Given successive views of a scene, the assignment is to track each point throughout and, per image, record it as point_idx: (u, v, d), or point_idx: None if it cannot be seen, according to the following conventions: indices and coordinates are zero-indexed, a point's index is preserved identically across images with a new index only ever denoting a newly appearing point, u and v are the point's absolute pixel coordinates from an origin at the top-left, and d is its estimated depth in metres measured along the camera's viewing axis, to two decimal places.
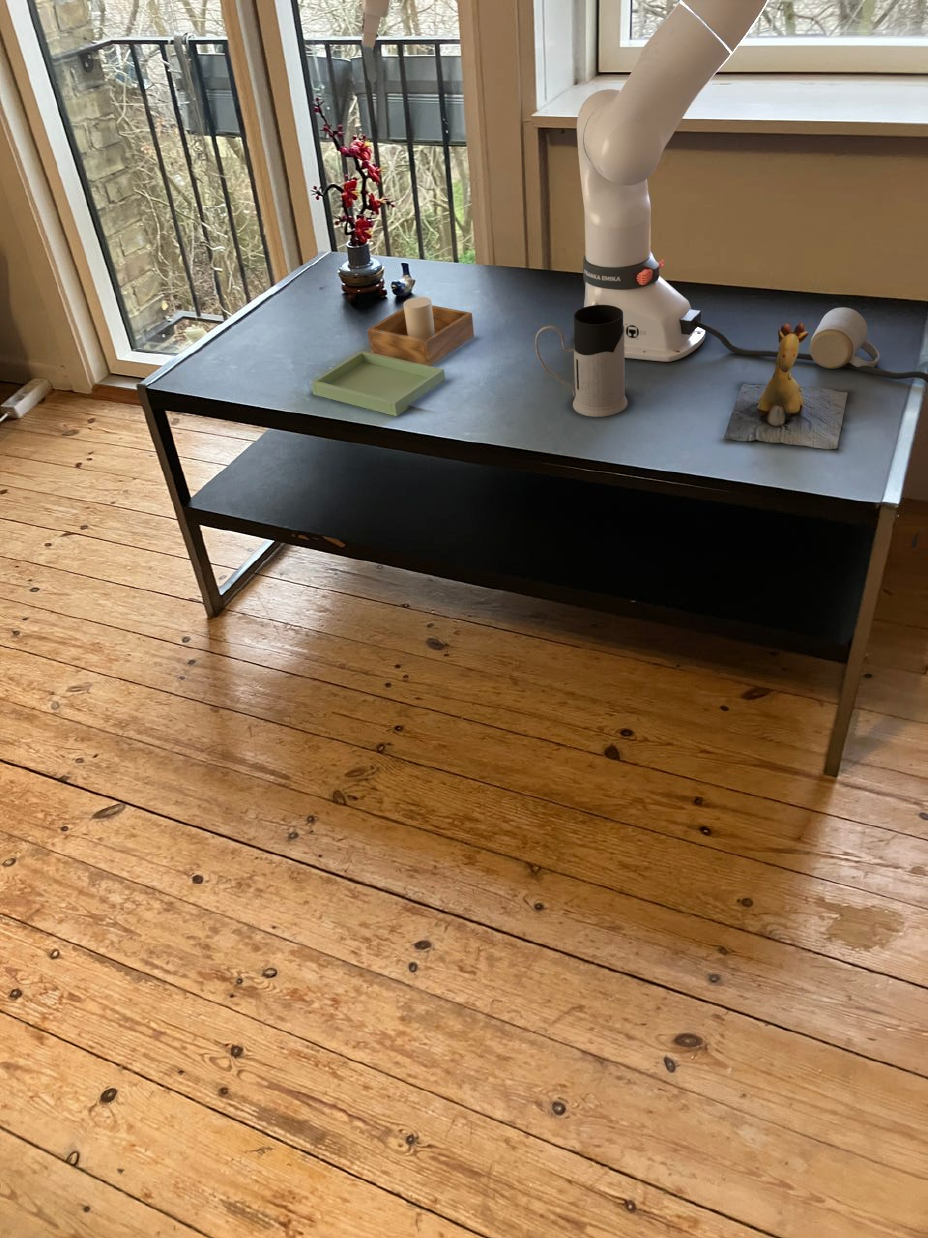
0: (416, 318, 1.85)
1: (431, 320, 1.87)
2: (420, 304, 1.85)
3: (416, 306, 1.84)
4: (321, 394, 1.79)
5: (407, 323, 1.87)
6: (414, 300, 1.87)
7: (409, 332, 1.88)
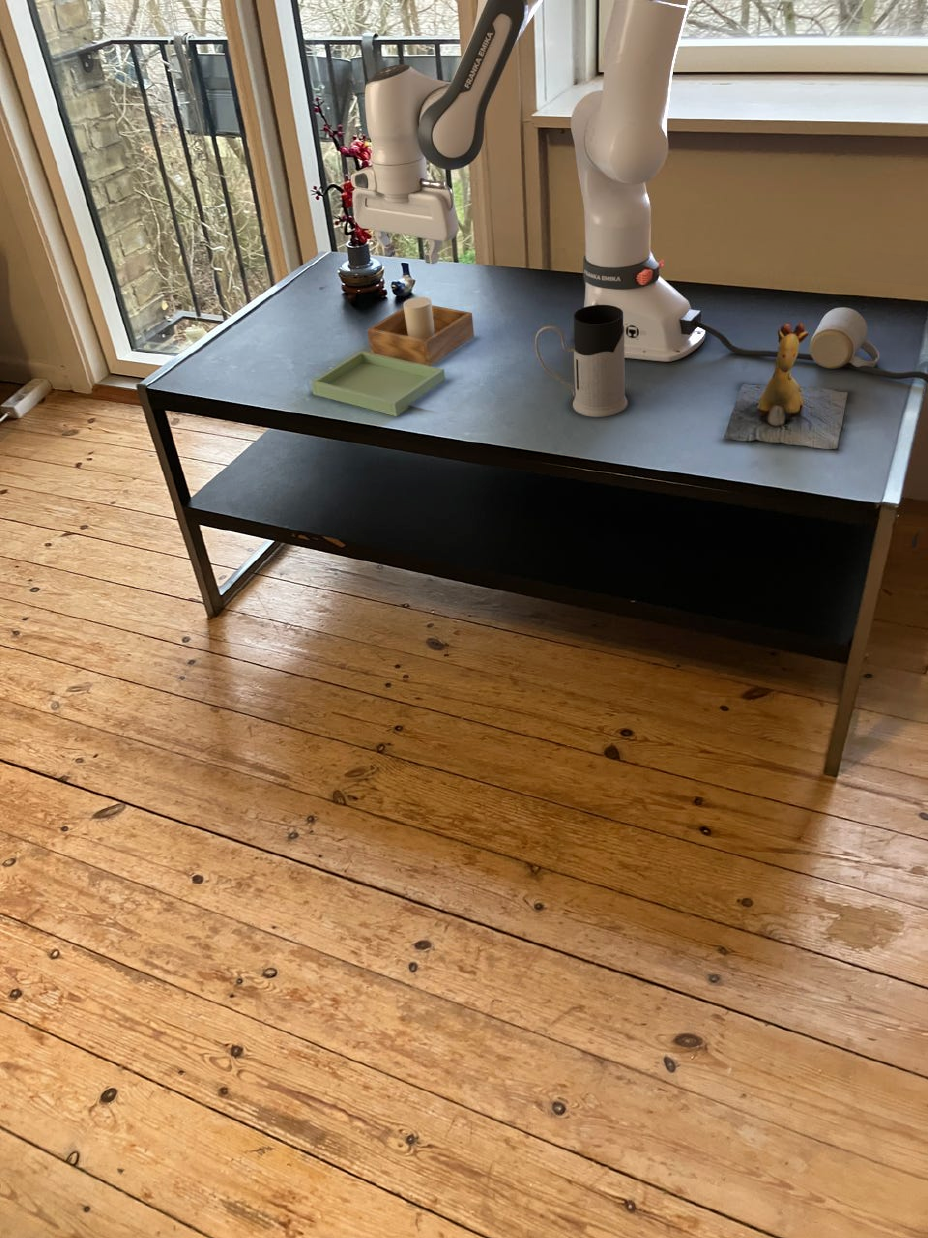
0: (416, 318, 1.85)
1: (431, 320, 1.87)
2: (420, 304, 1.85)
3: (416, 306, 1.84)
4: (321, 394, 1.79)
5: (407, 323, 1.87)
6: (414, 300, 1.87)
7: (409, 332, 1.88)
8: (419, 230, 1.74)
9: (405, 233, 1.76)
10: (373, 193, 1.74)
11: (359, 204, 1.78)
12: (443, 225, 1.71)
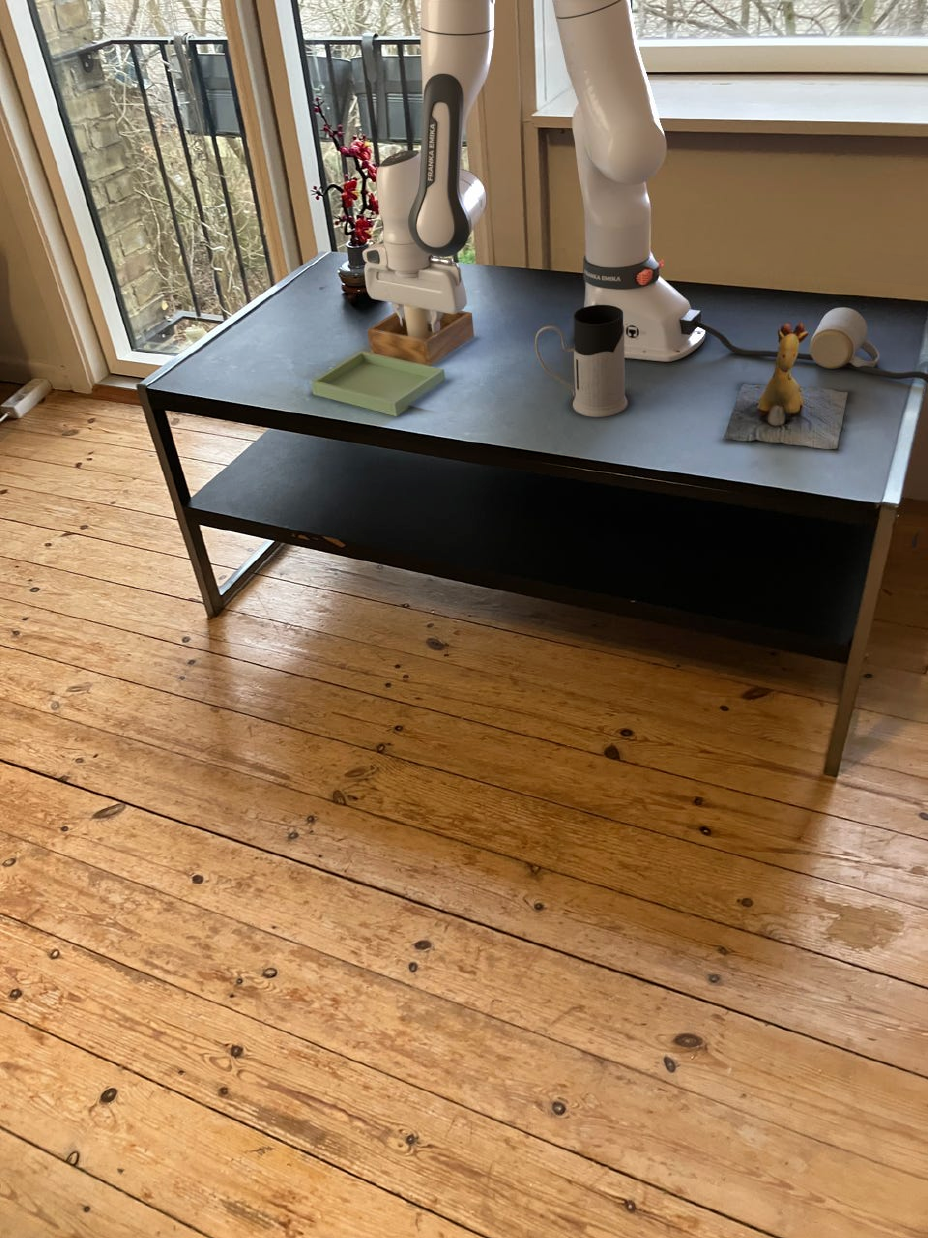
0: (416, 318, 1.85)
1: None
2: None
3: None
4: (321, 394, 1.79)
5: (407, 323, 1.87)
6: None
7: (409, 332, 1.88)
8: (429, 303, 1.82)
9: (415, 305, 1.84)
10: (384, 268, 1.82)
11: (371, 277, 1.86)
12: (452, 300, 1.79)
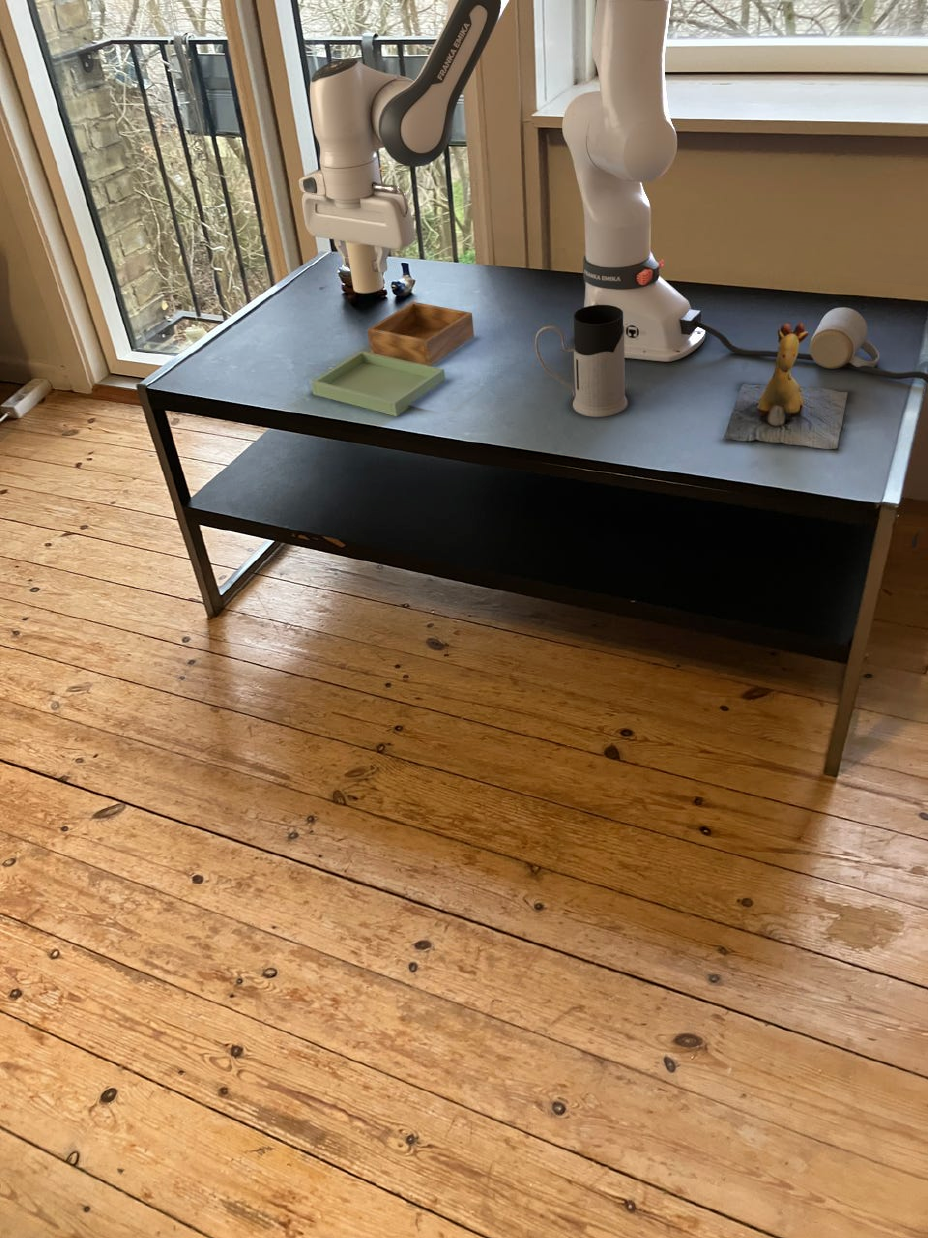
0: (360, 256, 1.65)
1: None
2: None
3: None
4: (321, 394, 1.79)
5: (350, 262, 1.67)
6: None
7: (352, 272, 1.67)
8: (373, 238, 1.62)
9: (358, 241, 1.64)
10: (323, 199, 1.62)
11: (309, 210, 1.66)
12: (398, 233, 1.58)
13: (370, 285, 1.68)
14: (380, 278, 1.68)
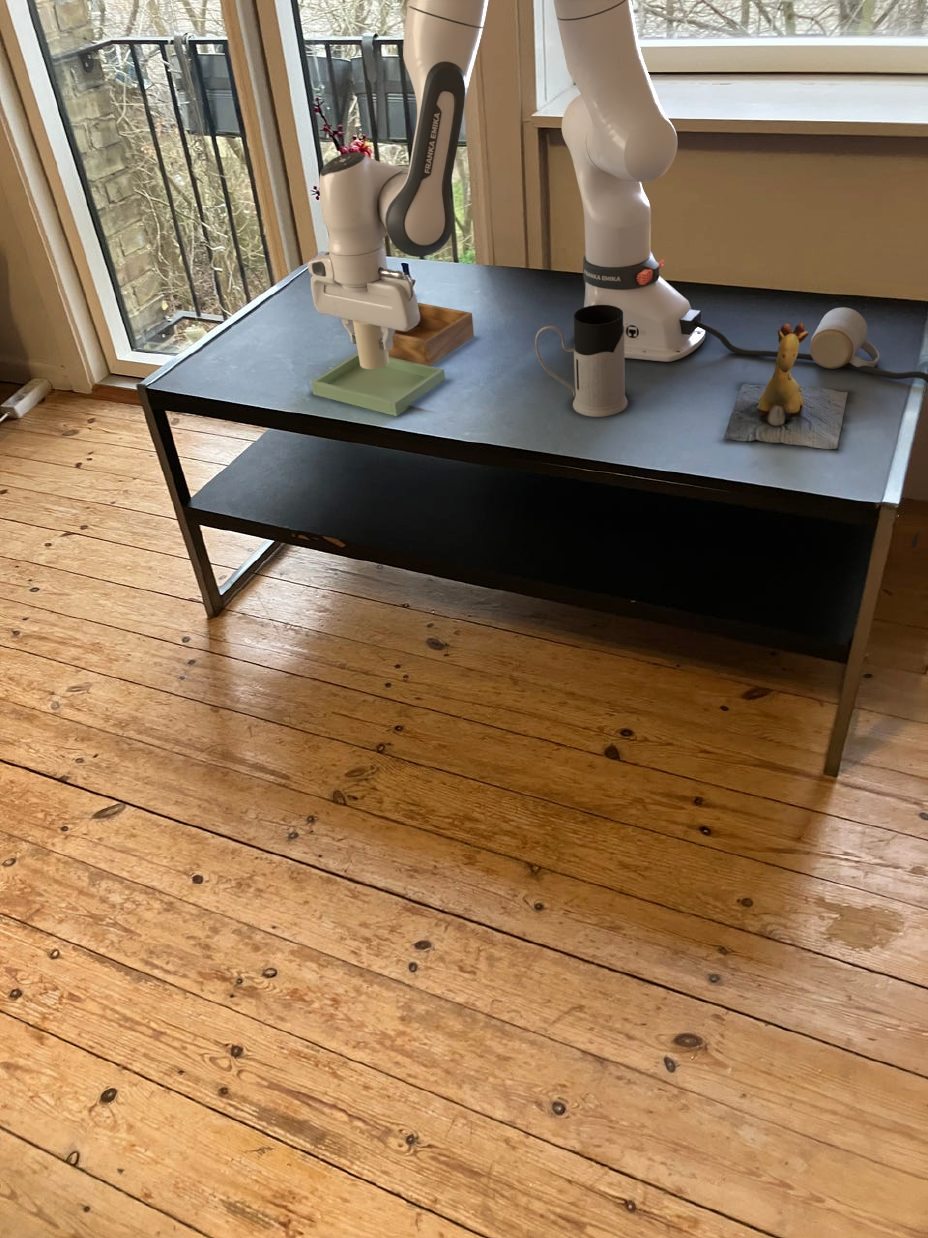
0: (366, 335, 1.71)
1: None
2: None
3: (365, 323, 1.70)
4: (321, 394, 1.79)
5: (357, 340, 1.73)
6: None
7: (359, 350, 1.74)
8: (379, 319, 1.68)
9: (365, 321, 1.70)
10: (331, 281, 1.68)
11: (318, 290, 1.72)
12: (403, 316, 1.65)
13: (377, 362, 1.74)
14: (386, 355, 1.75)
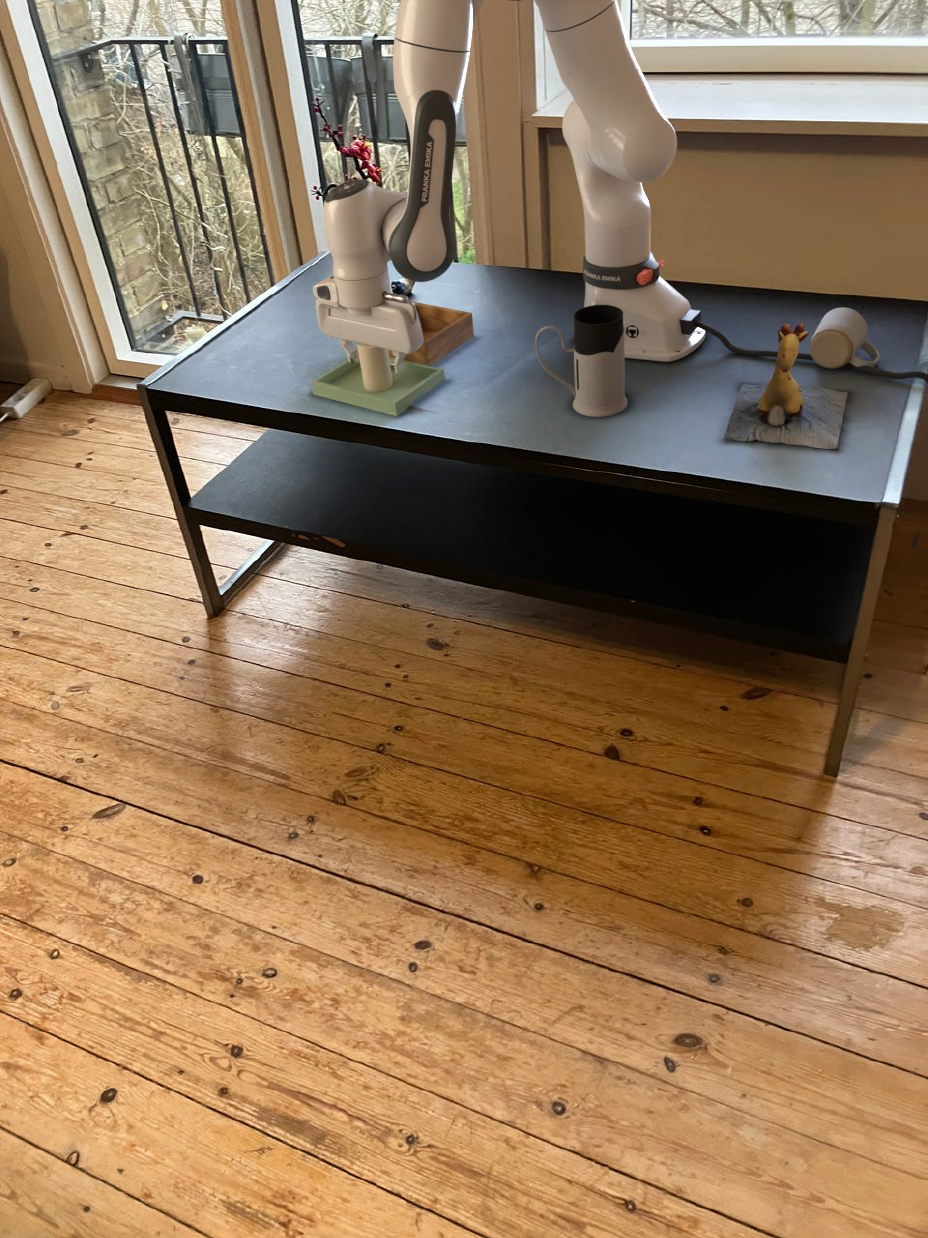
0: (370, 359, 1.74)
1: (387, 360, 1.75)
2: None
3: (370, 346, 1.73)
4: (321, 394, 1.79)
5: (361, 364, 1.76)
6: None
7: (363, 373, 1.76)
8: (383, 342, 1.71)
9: (369, 344, 1.73)
10: (336, 305, 1.71)
11: (323, 313, 1.75)
12: (407, 339, 1.67)
13: (381, 385, 1.77)
14: (390, 377, 1.78)
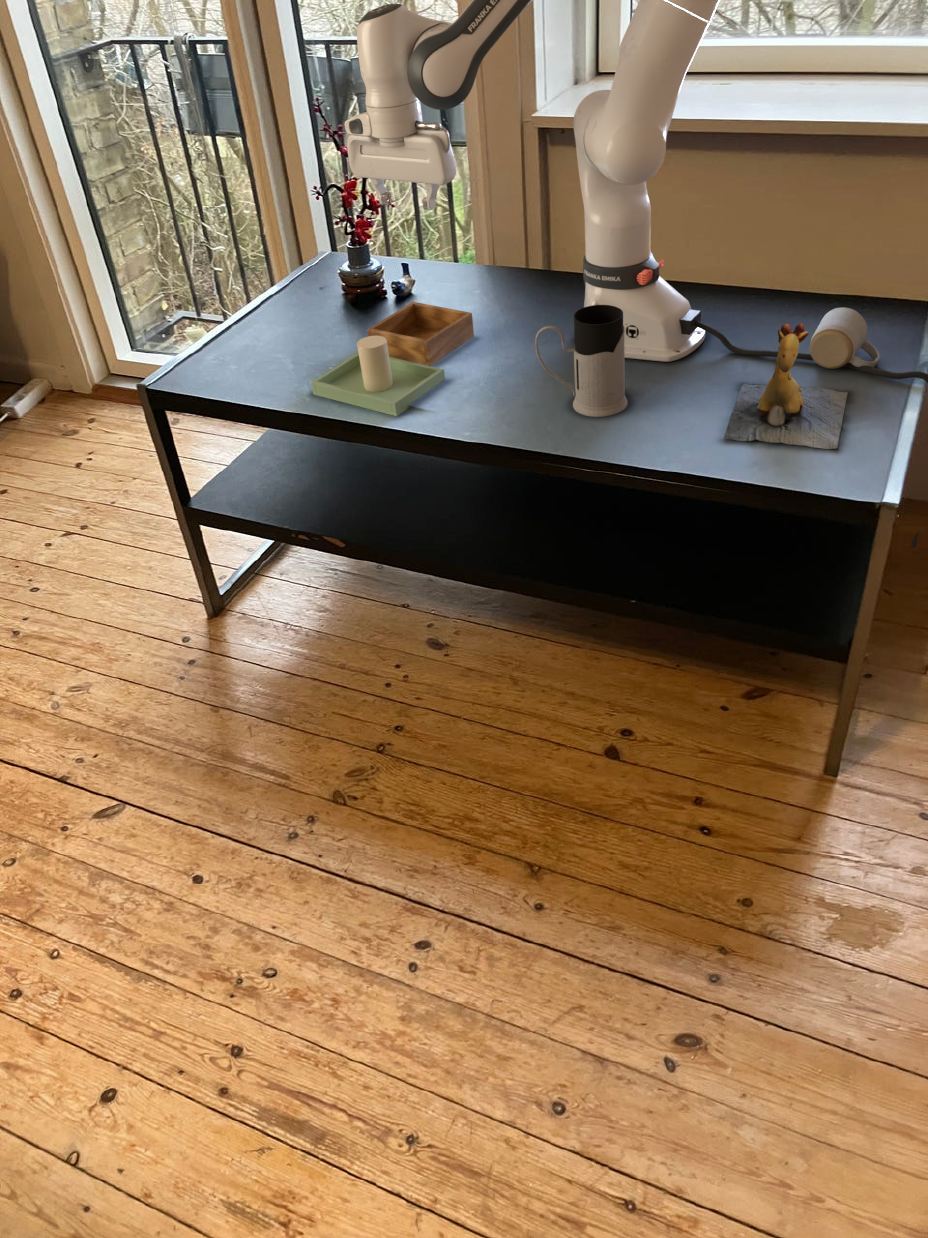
0: (370, 359, 1.74)
1: (387, 360, 1.75)
2: (374, 343, 1.74)
3: (370, 346, 1.73)
4: (321, 394, 1.79)
5: (361, 364, 1.76)
6: (368, 339, 1.75)
7: (363, 373, 1.76)
8: (416, 175, 1.72)
9: (402, 179, 1.74)
10: (368, 139, 1.72)
11: (354, 151, 1.76)
12: (441, 168, 1.68)
13: (381, 385, 1.77)
14: (390, 377, 1.78)
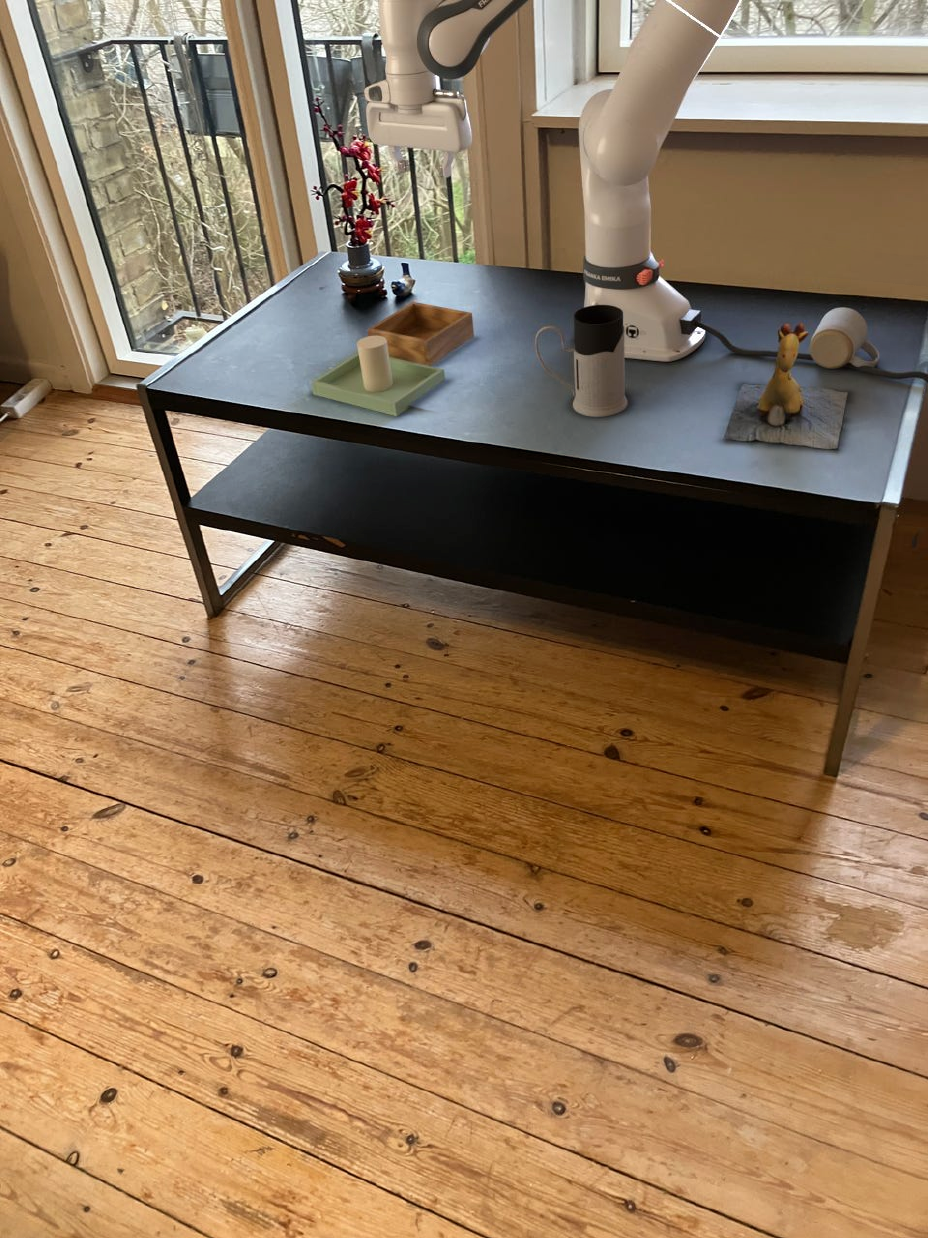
0: (370, 359, 1.74)
1: (387, 360, 1.75)
2: (374, 343, 1.74)
3: (370, 346, 1.73)
4: (321, 394, 1.79)
5: (361, 364, 1.76)
6: (368, 339, 1.75)
7: (363, 373, 1.76)
8: (432, 142, 1.76)
9: (419, 146, 1.78)
10: (387, 106, 1.76)
11: (373, 119, 1.80)
12: (457, 135, 1.73)
13: (381, 385, 1.77)
14: (390, 377, 1.78)
